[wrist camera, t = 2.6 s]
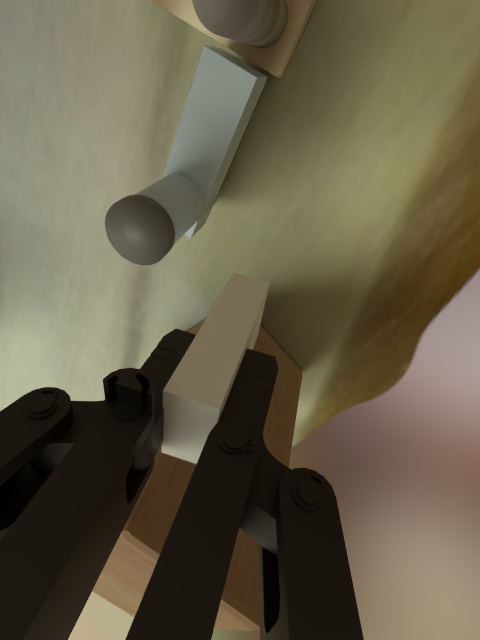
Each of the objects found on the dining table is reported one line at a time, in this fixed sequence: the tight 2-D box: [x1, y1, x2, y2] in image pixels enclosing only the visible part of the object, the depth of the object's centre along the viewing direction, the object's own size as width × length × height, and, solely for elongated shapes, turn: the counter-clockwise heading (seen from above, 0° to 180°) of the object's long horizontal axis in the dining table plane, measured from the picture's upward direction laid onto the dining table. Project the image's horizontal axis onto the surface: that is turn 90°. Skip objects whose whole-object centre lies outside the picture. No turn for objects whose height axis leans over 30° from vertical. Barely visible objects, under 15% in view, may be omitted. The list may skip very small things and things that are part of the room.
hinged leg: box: [105, 46, 268, 265], centre depth 19 cm, size 3×10×9 cm, turn 155°
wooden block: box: [92, 319, 302, 631], centre depth 27 cm, size 10×10×20 cm
